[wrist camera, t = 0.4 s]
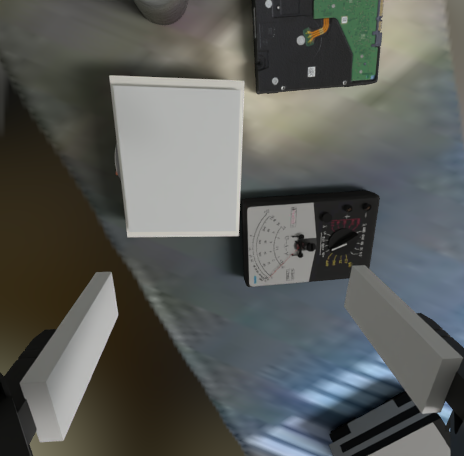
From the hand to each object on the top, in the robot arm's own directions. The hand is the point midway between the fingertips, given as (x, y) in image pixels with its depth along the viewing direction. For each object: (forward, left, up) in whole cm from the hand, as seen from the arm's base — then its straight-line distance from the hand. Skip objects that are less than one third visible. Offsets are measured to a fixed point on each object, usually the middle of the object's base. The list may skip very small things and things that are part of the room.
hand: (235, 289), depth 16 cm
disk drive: (-18, +12, -27) cm, 34 cm away
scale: (-4, -4, -26) cm, 27 cm away
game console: (+58, +41, -27) cm, 76 cm away
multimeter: (+8, +13, -27) cm, 31 cm away
